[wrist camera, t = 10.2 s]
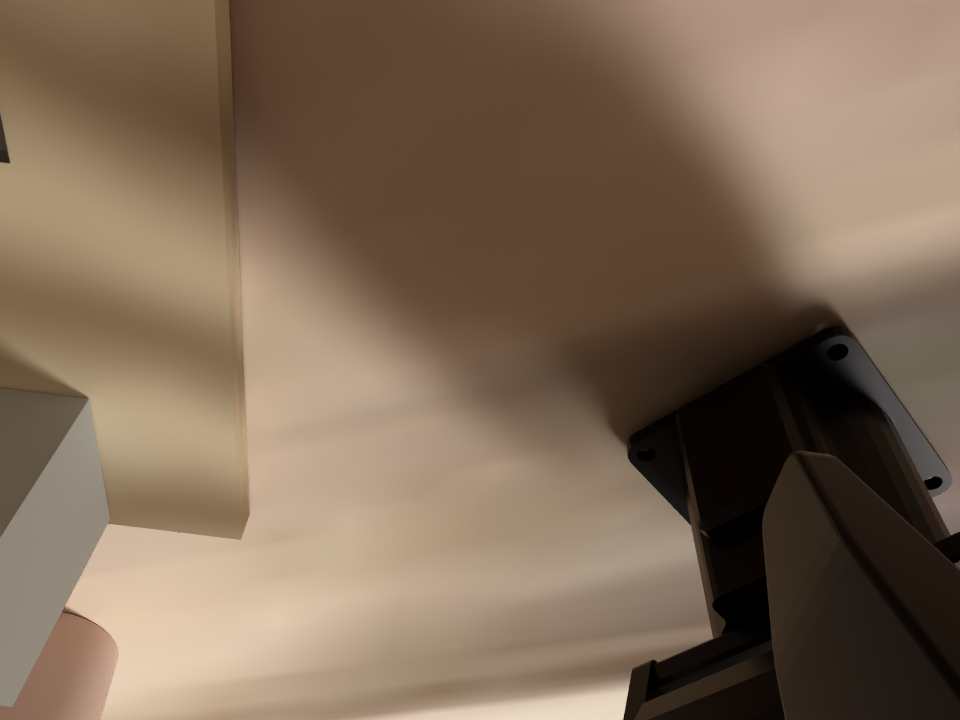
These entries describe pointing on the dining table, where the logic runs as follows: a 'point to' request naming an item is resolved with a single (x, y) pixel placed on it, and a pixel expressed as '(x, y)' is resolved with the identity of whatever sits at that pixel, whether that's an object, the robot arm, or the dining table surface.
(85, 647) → the smoothie
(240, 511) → the board
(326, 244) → the dining table surface
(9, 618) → the slate block
